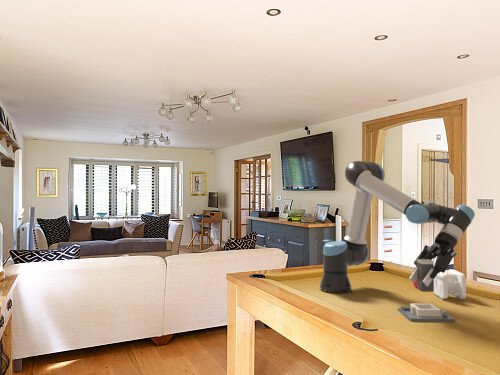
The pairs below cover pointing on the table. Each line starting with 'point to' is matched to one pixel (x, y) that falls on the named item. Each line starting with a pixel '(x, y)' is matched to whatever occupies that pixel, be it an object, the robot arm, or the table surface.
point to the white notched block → (450, 284)
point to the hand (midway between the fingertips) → (418, 282)
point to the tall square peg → (424, 274)
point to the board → (425, 313)
